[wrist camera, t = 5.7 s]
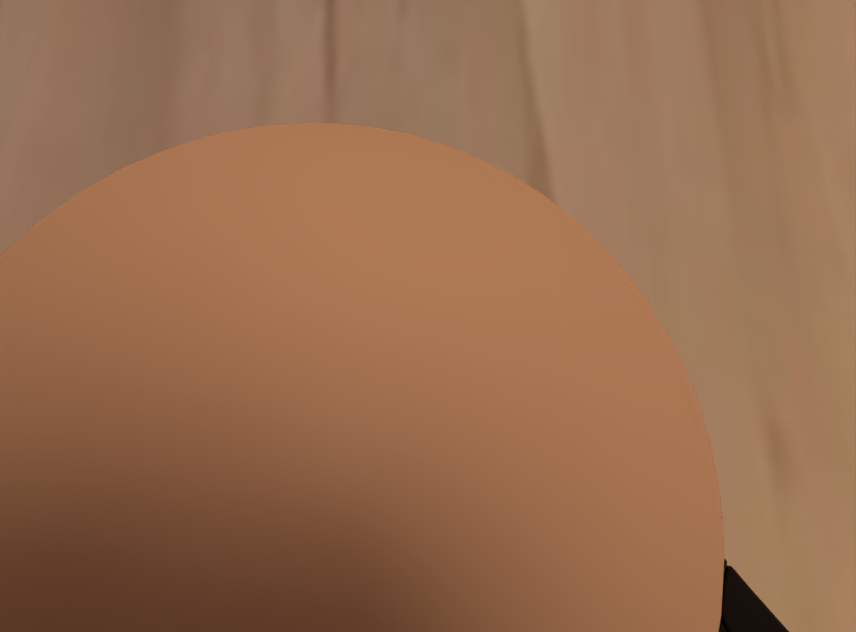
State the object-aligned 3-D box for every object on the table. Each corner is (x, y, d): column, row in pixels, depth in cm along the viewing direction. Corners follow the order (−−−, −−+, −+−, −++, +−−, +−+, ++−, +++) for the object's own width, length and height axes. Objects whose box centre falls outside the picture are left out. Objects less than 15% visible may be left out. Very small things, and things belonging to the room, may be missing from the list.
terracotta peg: (405, 586, 14) (383, 1321, 3) (242, 458, 15) (-352, 617, 3) (523, 413, 15) (866, 416, 4) (367, 299, 16) (252, -6, 4)
